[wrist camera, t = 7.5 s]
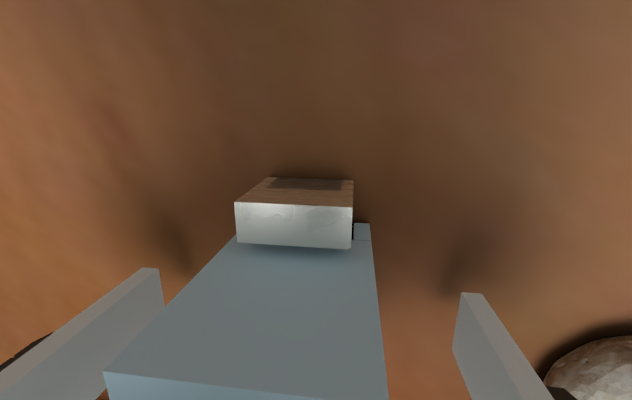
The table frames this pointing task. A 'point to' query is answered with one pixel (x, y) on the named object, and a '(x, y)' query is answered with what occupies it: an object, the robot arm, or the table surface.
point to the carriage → (264, 330)
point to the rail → (296, 213)
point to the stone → (596, 370)
